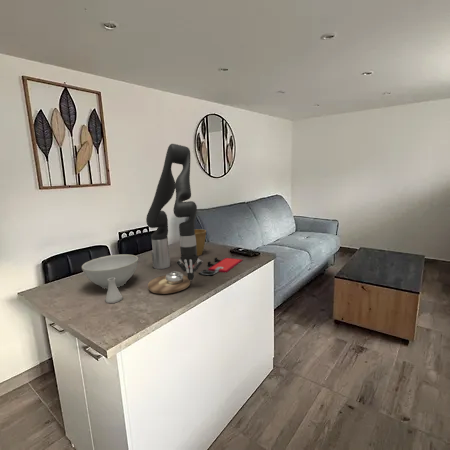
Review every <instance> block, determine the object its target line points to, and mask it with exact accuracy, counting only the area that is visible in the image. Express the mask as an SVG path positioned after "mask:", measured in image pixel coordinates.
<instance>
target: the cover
mask: <svg viewBox="0 0 450 450" xmlns="http://www.w3.org/2000/svg"><path fill="white" fill-rule="evenodd" d="M165 275H166V282H167V284H169V285H176V284H180V283H182V282H183V275H184V274H183V272H181V271H178V270H177V271H174V270H173V271H171V272H169V273H166V274H165Z"/></svg>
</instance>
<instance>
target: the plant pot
mask: <svg viewBox="0 0 450 450" xmlns="http://www.w3.org/2000/svg"><path fill="white" fill-rule="evenodd" d="M194 229H195V228H194ZM206 236H207V230H206V229H203V228H202V229H199V228H198V229H197V228H196V229H195V237H196V247H197V256H198V257H199V256H202V255H203V251H204V247H205V244H206Z"/></svg>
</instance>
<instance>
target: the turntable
mask: <svg viewBox="0 0 450 450" xmlns="http://www.w3.org/2000/svg"><path fill="white" fill-rule="evenodd" d="M166 275H167V274H165V275H162V276H161V275H160V276H157V277H155V278H152V279H151V280H149V282H148V284H147V289H148V291H149V292H151V293H154V294H158V295H159V294H161V295H162V294H163V295H164V294H173V293H174V294H175V293H178V292H180V291H183V290H186V289H187V288H189V286H190V285H191V280H189V279H188V276H187V275H184V274H183V282H182V283H180V284H176V285H169V284H167V282H166Z"/></svg>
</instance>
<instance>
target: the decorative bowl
mask: <svg viewBox="0 0 450 450" xmlns="http://www.w3.org/2000/svg"><path fill="white" fill-rule="evenodd" d="M138 263H139V257H138V256H136V255H134V254H127V253H126V254H123V253H122V254H120V253H119V254H110V255H106V256H105V255H104V256H100V257H98V258H93V259H90V260H89V261H86V262H84V263H83V264H82V265H81V270H82V271H83V273H84V275H85V276H86V278H87V279H88V280H89V281H90V282H92V283H93V284H95V285H96V286H97V285H98V286H99V287H100V288H101V287H102V288H101V289H103V288H106V289H105V290H108V286H109V283H108V280H107V279H109V278H115V283H116V286H117V287H118V288H120V286H121V287H124V286H125V285H126V284H127V281H128V280H129V279H130V278H132V276H133V275H134V274H135V272H136V270H137V267H138V265H139V264H138ZM124 284H125V285H124Z"/></svg>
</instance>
